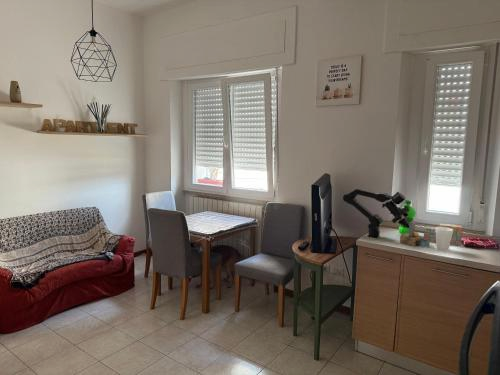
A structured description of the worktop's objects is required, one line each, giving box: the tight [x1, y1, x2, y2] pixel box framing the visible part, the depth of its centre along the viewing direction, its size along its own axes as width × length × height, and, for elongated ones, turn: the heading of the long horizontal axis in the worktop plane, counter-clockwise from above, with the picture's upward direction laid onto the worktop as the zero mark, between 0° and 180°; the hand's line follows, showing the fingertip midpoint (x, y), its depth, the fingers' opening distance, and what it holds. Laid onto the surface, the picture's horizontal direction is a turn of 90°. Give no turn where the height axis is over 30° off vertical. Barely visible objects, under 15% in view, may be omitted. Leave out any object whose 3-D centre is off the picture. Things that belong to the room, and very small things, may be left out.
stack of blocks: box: [423, 223, 463, 247], centre depth 230 cm, size 21×6×12 cm, turn 67°
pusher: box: [409, 220, 416, 237], centre depth 225 cm, size 2×6×9 cm, turn 140°
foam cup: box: [435, 226, 453, 252], centre depth 214 cm, size 10×9×13 cm
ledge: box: [399, 233, 425, 247], centre depth 225 cm, size 12×10×5 cm
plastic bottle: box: [398, 199, 416, 236], centre depth 245 cm, size 10×10×25 cm
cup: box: [418, 239, 431, 248], centre depth 221 cm, size 6×6×4 cm
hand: (409, 227), depth 226 cm, fingers closed
